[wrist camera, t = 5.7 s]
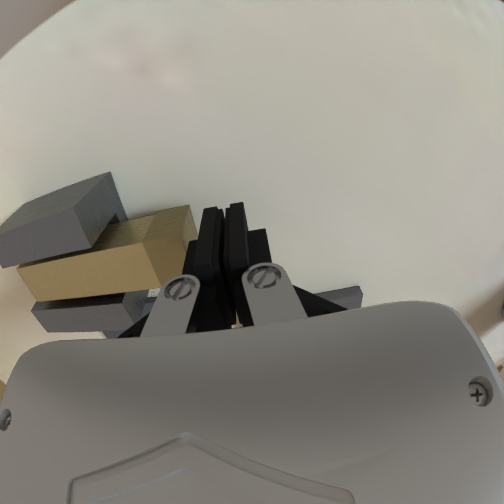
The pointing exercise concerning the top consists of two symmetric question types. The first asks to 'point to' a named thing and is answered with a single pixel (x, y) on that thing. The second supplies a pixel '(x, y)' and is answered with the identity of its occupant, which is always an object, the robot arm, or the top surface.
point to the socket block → (69, 240)
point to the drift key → (117, 259)
